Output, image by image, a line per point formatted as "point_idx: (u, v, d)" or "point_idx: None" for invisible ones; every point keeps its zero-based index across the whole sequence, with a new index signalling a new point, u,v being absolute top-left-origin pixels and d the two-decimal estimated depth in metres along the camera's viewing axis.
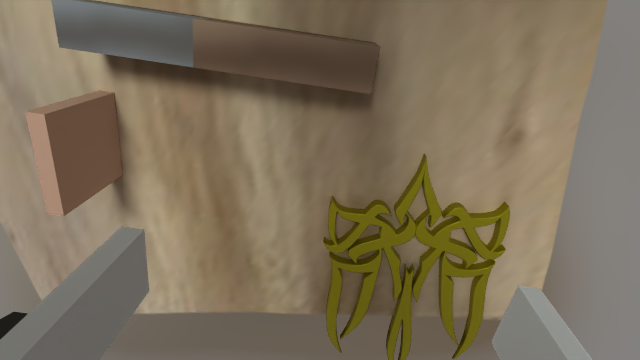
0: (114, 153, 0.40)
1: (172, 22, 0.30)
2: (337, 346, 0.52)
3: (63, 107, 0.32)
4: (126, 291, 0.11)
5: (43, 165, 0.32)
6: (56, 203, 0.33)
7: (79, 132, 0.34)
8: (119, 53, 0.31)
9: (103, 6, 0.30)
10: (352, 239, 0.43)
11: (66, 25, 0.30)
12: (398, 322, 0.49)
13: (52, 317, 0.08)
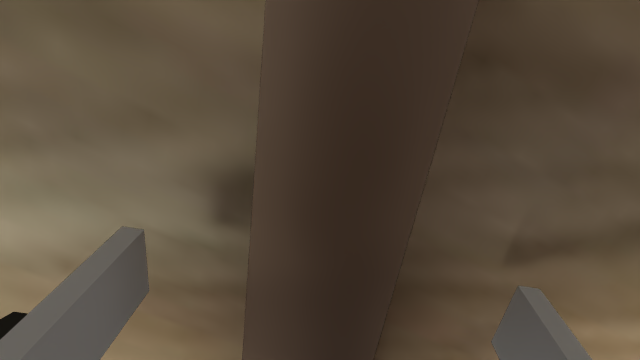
0: None
1: None
2: None
3: None
4: (126, 291, 0.11)
5: None
6: None
7: None
8: None
9: None
10: None
11: None
12: None
13: (52, 317, 0.08)
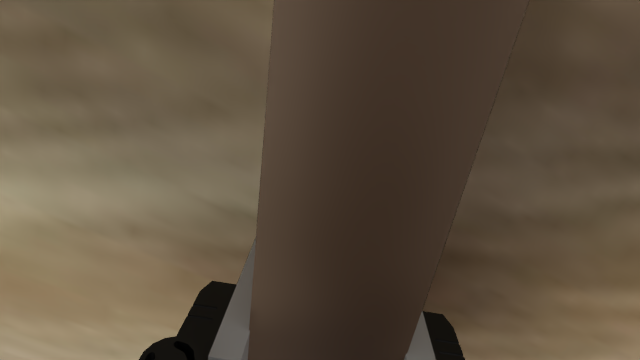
0: None
1: None
2: None
3: None
4: None
5: None
6: None
7: None
8: None
9: None
10: None
11: None
12: None
13: None
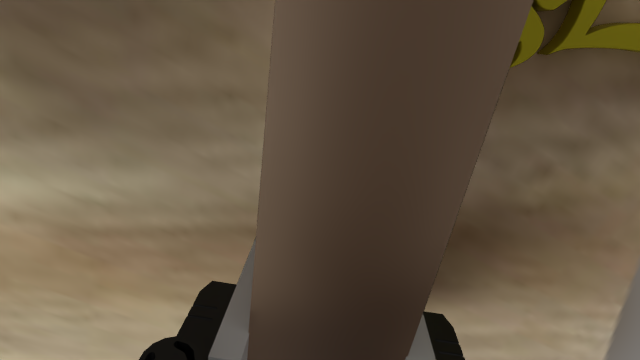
0: None
1: None
2: None
3: None
4: None
5: None
6: None
7: None
8: None
9: None
10: None
11: None
12: None
13: None
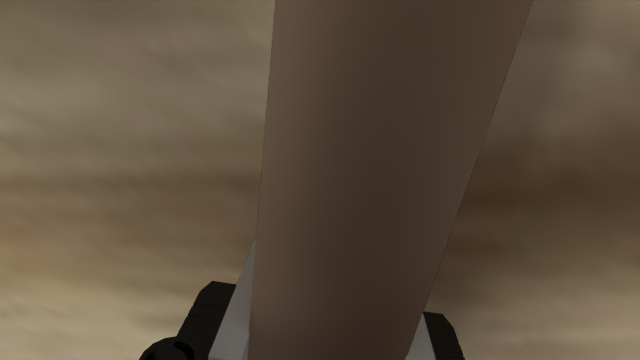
0: None
1: None
2: None
3: None
4: None
5: None
6: None
7: None
8: None
9: None
10: None
11: None
12: None
13: None
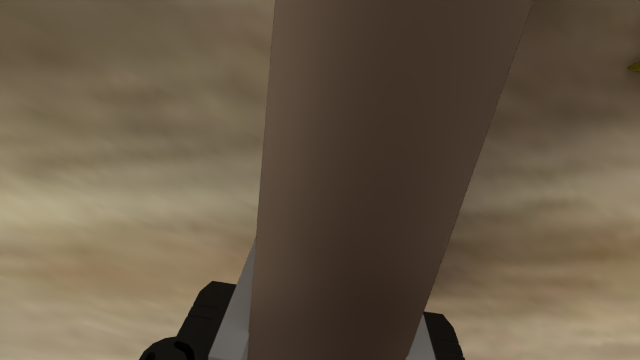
0: None
1: None
2: None
3: None
4: None
5: None
6: None
7: None
8: None
9: None
10: None
11: None
12: None
13: None
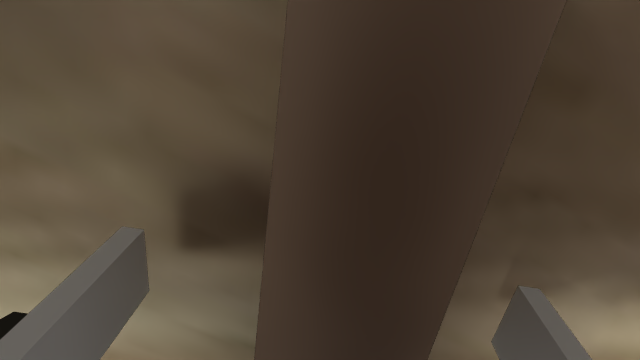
0: None
1: None
2: None
3: None
4: (126, 291, 0.11)
5: None
6: None
7: None
8: None
9: None
10: None
11: None
12: None
13: (52, 317, 0.08)
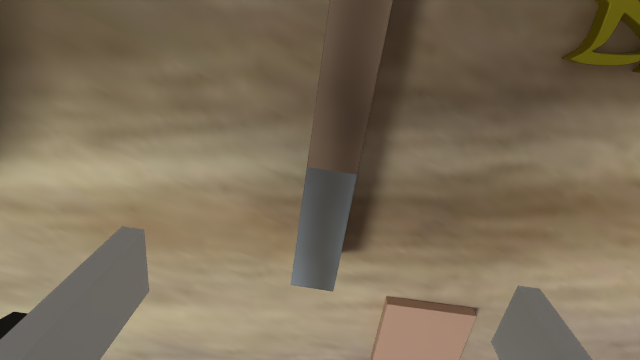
0: (444, 320, 0.40)
1: (311, 187, 0.28)
2: None
3: (374, 351, 0.42)
4: (126, 291, 0.11)
5: None
6: None
7: (399, 347, 0.42)
8: (340, 243, 0.30)
9: (297, 246, 0.31)
10: None
11: (314, 280, 0.32)
12: None
13: (52, 317, 0.08)
